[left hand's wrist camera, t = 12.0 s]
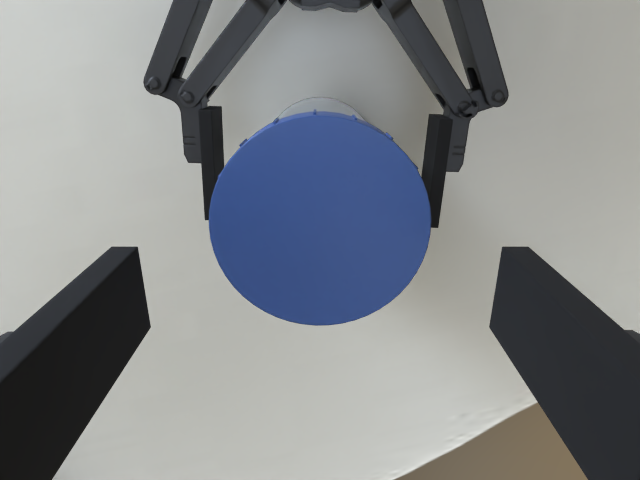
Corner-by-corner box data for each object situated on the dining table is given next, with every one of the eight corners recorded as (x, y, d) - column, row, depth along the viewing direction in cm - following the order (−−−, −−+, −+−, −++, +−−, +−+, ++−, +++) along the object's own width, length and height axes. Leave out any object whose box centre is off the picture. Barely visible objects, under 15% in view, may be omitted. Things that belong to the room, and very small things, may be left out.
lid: (326, 59, 17) (326, 59, 16) (463, 223, 20) (477, 237, 18) (174, 209, 20) (160, 222, 18) (315, 338, 22) (314, 362, 20)
